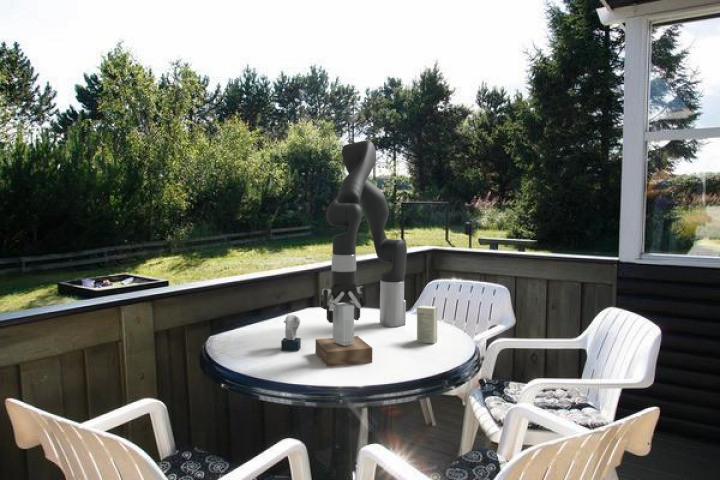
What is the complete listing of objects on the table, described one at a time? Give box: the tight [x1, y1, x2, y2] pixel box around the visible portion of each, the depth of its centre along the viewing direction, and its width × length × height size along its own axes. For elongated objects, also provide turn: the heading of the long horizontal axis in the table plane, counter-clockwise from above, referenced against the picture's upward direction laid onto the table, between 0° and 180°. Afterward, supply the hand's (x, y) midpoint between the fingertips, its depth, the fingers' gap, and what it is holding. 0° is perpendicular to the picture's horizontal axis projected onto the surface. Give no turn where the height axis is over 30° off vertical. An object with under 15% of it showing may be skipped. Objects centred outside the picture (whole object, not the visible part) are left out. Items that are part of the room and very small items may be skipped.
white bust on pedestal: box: [280, 314, 302, 352], centre depth 173 cm, size 6×8×11 cm
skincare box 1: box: [332, 302, 355, 346], centre depth 164 cm, size 6×4×12 cm
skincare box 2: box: [416, 305, 438, 344], centre depth 184 cm, size 6×4×12 cm
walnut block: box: [314, 335, 373, 368], centre depth 165 cm, size 14×14×5 cm
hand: (343, 321), depth 164 cm, fingers open, 8 cm apart
